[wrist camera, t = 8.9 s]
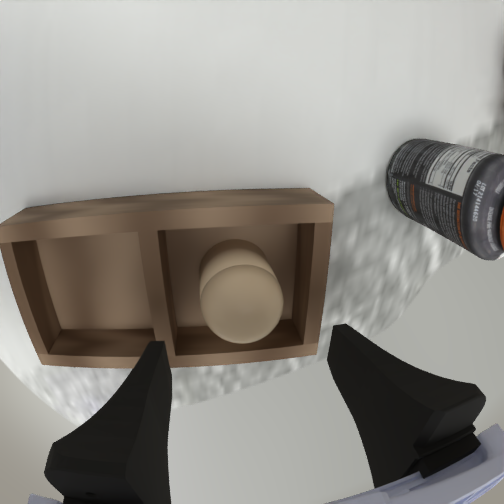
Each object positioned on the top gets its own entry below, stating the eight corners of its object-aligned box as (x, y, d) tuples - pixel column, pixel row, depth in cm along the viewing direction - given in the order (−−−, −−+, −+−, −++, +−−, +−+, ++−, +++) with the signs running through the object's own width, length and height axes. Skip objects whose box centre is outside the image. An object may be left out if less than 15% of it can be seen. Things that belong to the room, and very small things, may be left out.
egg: (201, 303, 21) (204, 363, 15) (196, 240, 19) (197, 289, 14) (267, 299, 21) (289, 355, 16) (269, 237, 19) (296, 282, 14)
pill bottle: (441, 213, 22) (548, 274, 12) (382, 219, 21) (495, 295, 11) (446, 140, 20) (568, 171, 9) (385, 135, 19) (520, 164, 9)
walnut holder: (58, 331, 21) (41, 364, 17) (26, 207, 17) (-5, 227, 13) (300, 320, 24) (316, 354, 20) (309, 188, 20) (334, 203, 16)
